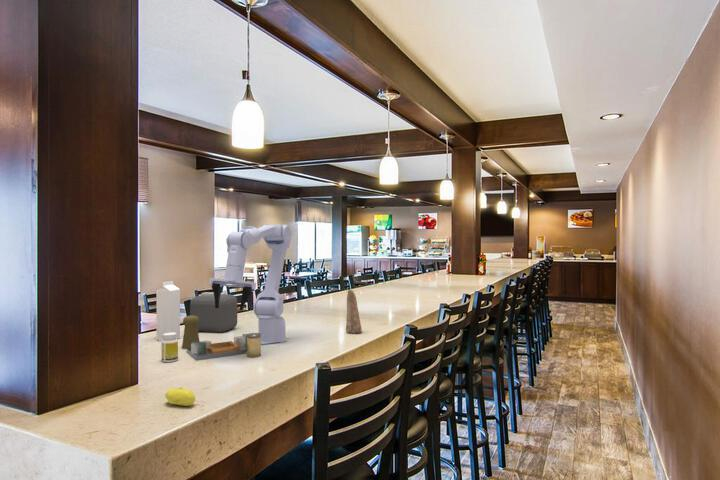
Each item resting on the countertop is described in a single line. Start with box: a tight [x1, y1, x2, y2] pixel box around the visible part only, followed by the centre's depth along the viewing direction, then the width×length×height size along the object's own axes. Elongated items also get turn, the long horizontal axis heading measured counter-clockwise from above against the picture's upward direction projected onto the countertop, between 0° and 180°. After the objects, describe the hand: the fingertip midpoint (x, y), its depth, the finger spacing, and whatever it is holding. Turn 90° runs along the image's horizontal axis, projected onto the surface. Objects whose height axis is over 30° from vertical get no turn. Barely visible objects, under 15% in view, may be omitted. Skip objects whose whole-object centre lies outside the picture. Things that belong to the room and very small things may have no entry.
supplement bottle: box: [161, 333, 179, 363], centre depth 144 cm, size 5×5×8 cm
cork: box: [181, 315, 200, 350], centre depth 162 cm, size 6×6×11 cm
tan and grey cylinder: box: [246, 332, 262, 359], centre depth 150 cm, size 5×5×7 cm
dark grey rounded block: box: [189, 291, 238, 333], centre depth 192 cm, size 16×11×16 cm
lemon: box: [164, 387, 196, 407], centre depth 106 cm, size 4×8×4 cm, turn 64°
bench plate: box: [186, 333, 248, 361], centre depth 155 cm, size 20×13×5 cm, turn 124°
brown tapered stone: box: [345, 289, 362, 335], centre depth 186 cm, size 6×18×6 cm
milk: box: [155, 280, 181, 342], centre depth 175 cm, size 6×6×22 cm
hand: (228, 309), depth 147 cm, fingers open, 7 cm apart
